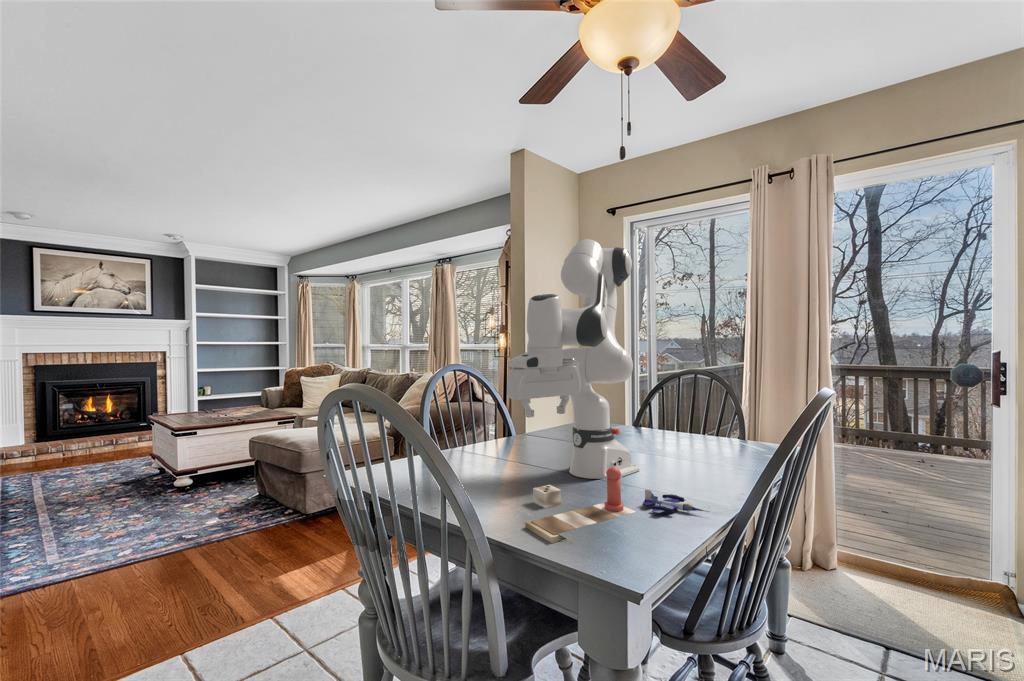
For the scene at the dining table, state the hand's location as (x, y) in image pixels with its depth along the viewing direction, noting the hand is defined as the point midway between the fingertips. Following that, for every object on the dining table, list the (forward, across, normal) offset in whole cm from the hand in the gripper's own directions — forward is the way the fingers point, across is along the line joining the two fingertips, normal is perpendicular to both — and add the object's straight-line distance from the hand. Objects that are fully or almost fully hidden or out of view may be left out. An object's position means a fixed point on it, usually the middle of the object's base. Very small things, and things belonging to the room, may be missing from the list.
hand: (545, 415), depth 120 cm
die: (+23, 0, 0) cm, 23 cm away
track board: (+23, -2, +12) cm, 26 cm away
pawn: (+22, -11, +12) cm, 27 cm away
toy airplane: (+24, -22, +20) cm, 38 cm away
